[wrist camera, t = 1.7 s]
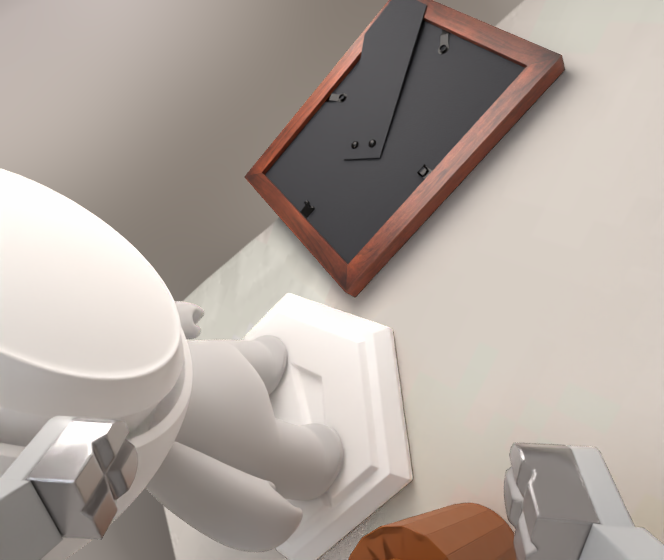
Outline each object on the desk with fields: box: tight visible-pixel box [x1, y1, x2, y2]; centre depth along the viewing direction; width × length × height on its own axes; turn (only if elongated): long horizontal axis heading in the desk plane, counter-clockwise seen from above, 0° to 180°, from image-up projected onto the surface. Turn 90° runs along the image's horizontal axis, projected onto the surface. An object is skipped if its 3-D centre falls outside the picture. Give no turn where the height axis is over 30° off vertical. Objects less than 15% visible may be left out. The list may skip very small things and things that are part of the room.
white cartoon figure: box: [0, 168, 413, 560], centre depth 27 cm, size 20×23×35 cm
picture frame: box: [245, 0, 565, 297], centre depth 45 cm, size 20×2×25 cm
